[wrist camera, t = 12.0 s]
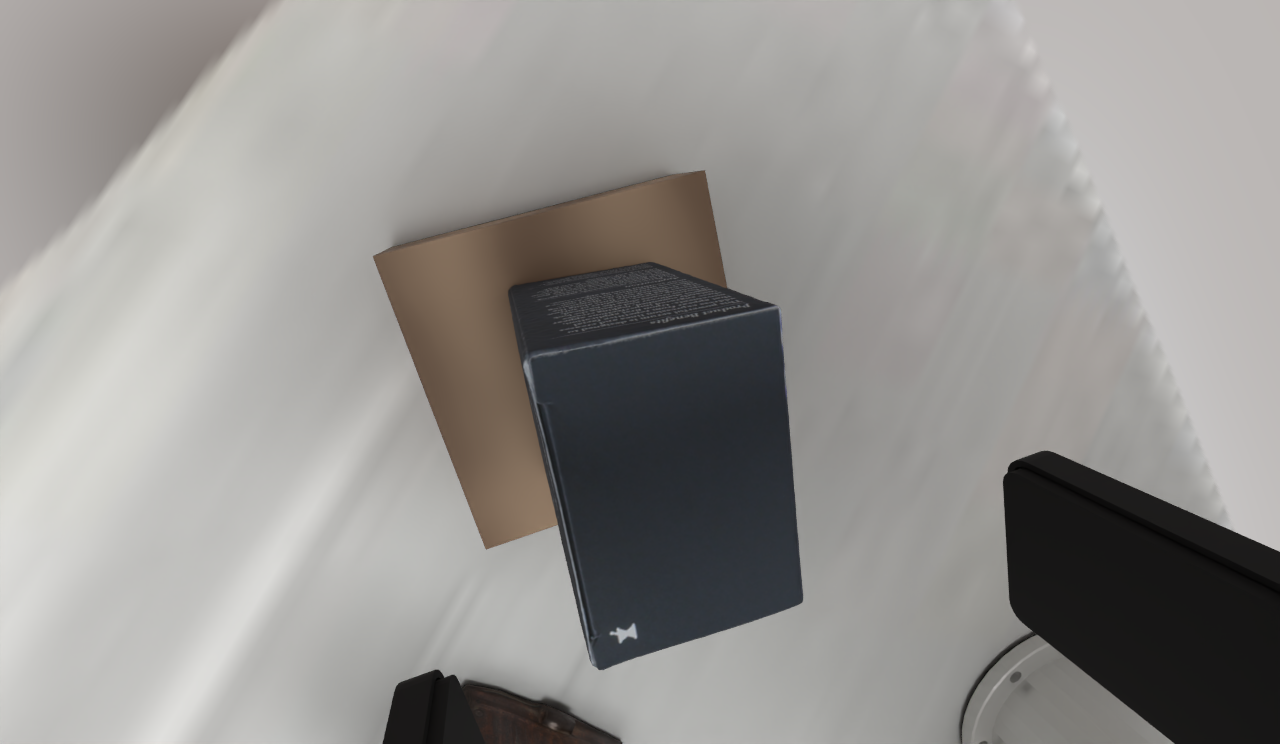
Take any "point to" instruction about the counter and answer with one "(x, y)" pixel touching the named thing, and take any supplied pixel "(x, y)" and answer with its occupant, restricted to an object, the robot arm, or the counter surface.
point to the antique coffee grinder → (526, 721)
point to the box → (662, 452)
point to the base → (484, 331)
